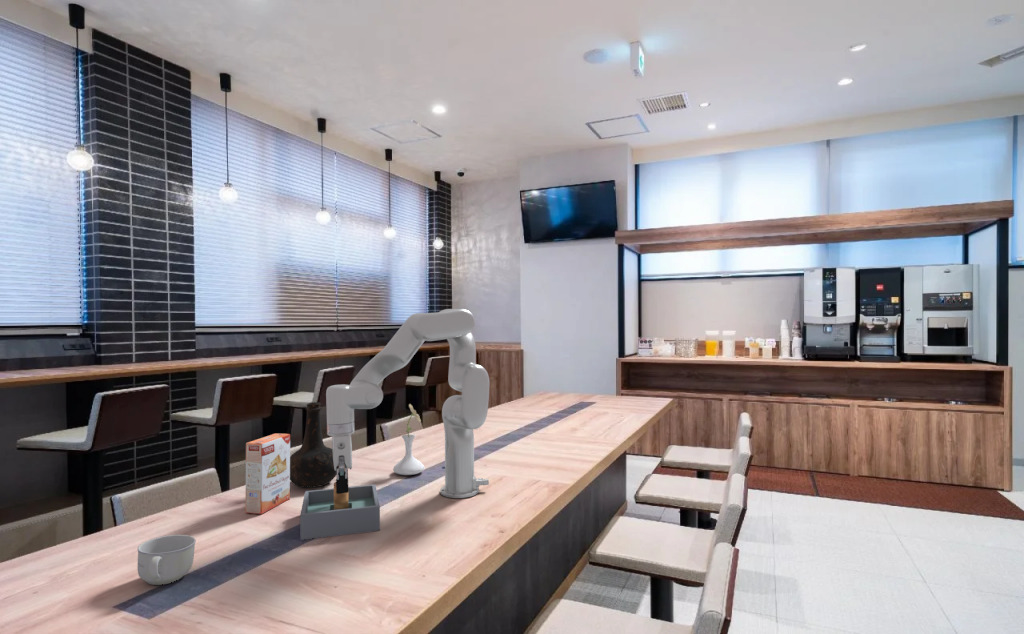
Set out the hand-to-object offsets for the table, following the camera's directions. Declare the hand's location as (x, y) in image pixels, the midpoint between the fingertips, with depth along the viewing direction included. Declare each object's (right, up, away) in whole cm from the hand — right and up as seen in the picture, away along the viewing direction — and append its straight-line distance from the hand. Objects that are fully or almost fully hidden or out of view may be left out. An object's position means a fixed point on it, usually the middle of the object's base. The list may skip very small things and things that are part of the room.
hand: (342, 487), depth 155 cm
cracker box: (-25, -9, +10) cm, 29 cm away
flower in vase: (+11, -9, +44) cm, 46 cm away
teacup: (-27, -9, -37) cm, 47 cm away
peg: (0, -9, 0) cm, 9 cm away
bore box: (+1, -9, -3) cm, 9 cm away
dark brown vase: (-20, -9, +31) cm, 38 cm away
